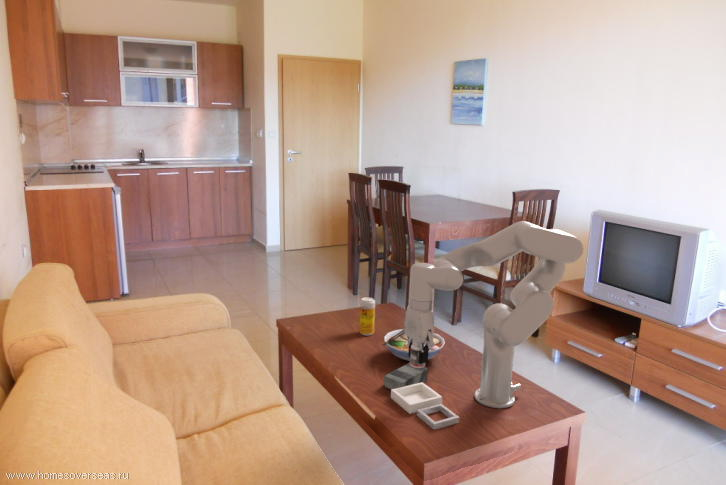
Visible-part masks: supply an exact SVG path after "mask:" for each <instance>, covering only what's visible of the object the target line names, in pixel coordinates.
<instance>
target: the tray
mask: <svg viewBox="0 0 726 485" xmlns="http://www.w3.org/2000/svg"><path fill="white" fill-rule="evenodd" d="M390 399H391V400H392V401H393V402H394V403H395V404H397V405H398V406H400V407H401V408H402V409H403V410H404V411H406V413H408V414H409V415H411V414H415V413H416V414H417V410H419V409H422V408H426V407H430V406H434V405H437V404H442V405H443V396H442V395H440V394H439V393H438V392H437V391H435V390H434V389H433V388H431V387H430V386H429V385H426V384H425V383H423V382H421V383H417V384H413V385H408V386H404V387H400V388H396V389H392V390H390Z"/></svg>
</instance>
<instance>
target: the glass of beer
mask: <svg viewBox="0 0 726 485" xmlns="http://www.w3.org/2000/svg"><path fill="white" fill-rule="evenodd" d="M359 304H360V308H359V333H360V334H361V335H362V336H367V337H368V336H372V335H373V334H374V333H375V318H376V313H375V312H376V300H375V298H373V297H369V296H366V297H362V298H361V300H360V303H359Z"/></svg>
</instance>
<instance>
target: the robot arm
mask: <svg viewBox="0 0 726 485" xmlns="http://www.w3.org/2000/svg"><path fill="white" fill-rule="evenodd" d="M522 252H523V253H525V254H528V255H530V256H534V257H536V258H539V259H538V262H537V263H536V265H535V266H534V267H533V268H532V269H531V271H529V272H528V274H526V275H525V276H524V277H523V278H522V279H521V280H520V281H519V282H518V283H517V284H516V285H515V286H514V287H513V289H512V290H511V292H510V295H509V296H510V300H511V303H512V304H513V305H514V306H515V308H514V309H512V308H511V307H510V306H508V305H507V304H504V303H501V302H500V303H497V302H496V303H494V304H492V305H490V306H488V307H487V308H486V310H485V312H484V314H483V319H482V320H483V321H482V322H483V323H482V325H483V326H482V328H483V348H482V349H483V350H482V361H481V371H480V372H481V374H480V375H481V376H480V387H479V388H478V389H476V390H475V392H474V398H475V400H476V401H477V402H478V403H479V404H481V405H483V406H486V407H490V408H492V409H493V408H494V409H507V408H509V407H512V406H513V405H514V404H515V402H516V398H515V395H514V394H513V393H514V392H515V391H520V390H522V385H521V384H520V383H516V384H513V382H512V380H513V379H512V377H513V367H514V359H515V358H514V357H515V346H519V345H520V344H522V343H524V342H525V341H526V340H528V338H530V337H531V336H532V334H534V333H535V332H536V331H537V330H538V329H539V328H540V327H541V326H542V325H543V324H544V323H545V322H546V321H547V320H548V319H549V317H550V316H551V315H552V313H553V310H554V307H555V301H554V298H553V295H551V292H552V291H553V290H554V289H555V287H556V286H557V285H558V284H559V283H560V282H561V280H562V279H563V277H564V274H565V273H566V272H565V270H566V267H567V266H566V265H569V264H574V263H575V262H577V261H579V260H580V259H581V257H582V255H583V254H584V245H583V243H582V240H580V239H579V238H578V237H577V236H575V235H573V234H571V233H568V232H565V231H563V230H561V229H556V228H550V229H547V228H544V227H541V226H539V225H537V224H534V223H531V222H529V221H525V220H521V221H516V222H514V223H512V224H511V225H509V226H506V227H505V228H503V229H502V230H499V231H498V232H496V233H494V234H492V235H491V236H489V237H486V238H485V239H483V240H481V241H478V242H474V243H470V244H468V245H464V246H461V247H459V248H456V249H454V250H451V251H449V252H447V253H445V254H444V255H442V256H440V257H439V258H437V259H436V260H435V261H433V263H432V264H431V263H427V262H416V263H413V264H412V265H411V267H410V272H409V273H410V276H409V277H410V278H409V291H408V292H409V293H408V294H409V296H408V297H409V298H408V304H407V307H406V311H405V318H404V325H403V326H404V327H403V329H404V333H405V335H406V336H407V337H408V344H410V345H409V353H408V356H409V357H410V353H411V345H412V341H413V340H414V341H416V342H417V343H419V344H420V351H419V359H418V363H419V364H423V363H425V364H426V363H428V362H429V359H428V351H430V349H431V348H432V347H434V346H435V344H434V341H433V337H434V333H435V319H434V318H435V316H434V313H435V312H434V306H435V305H434V303H435V302H434V301H435V289H436V290H440V291H448V292H450V291H452V292H453V291H456V290H457V289H459V288H461V287H462V285H463V282H464V276H463V273H462V272H463V271H465V270H468V269H471V268H475V267H494V266H498V265H500V264H501V263H503V262H505V261H506V260H508V259H510V258H512V257H514V256H516V255H519V253H522ZM425 340H426V341H425ZM425 343H426V345H425V346H423V344H425Z"/></svg>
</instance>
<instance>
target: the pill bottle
mask: <svg viewBox="0 0 726 485" xmlns="http://www.w3.org/2000/svg"><path fill="white" fill-rule="evenodd" d="M425 341H426V340H425ZM425 344H426V343H425ZM425 344H423V346H425ZM419 351H420V344H419V343H417V342H416V341H414V340H413V341H412V345H411V353H410V361H409V363H410V365H411V366H412V367H415V368H422V367H426V363H423V364H419V363H418V359H419Z"/></svg>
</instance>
